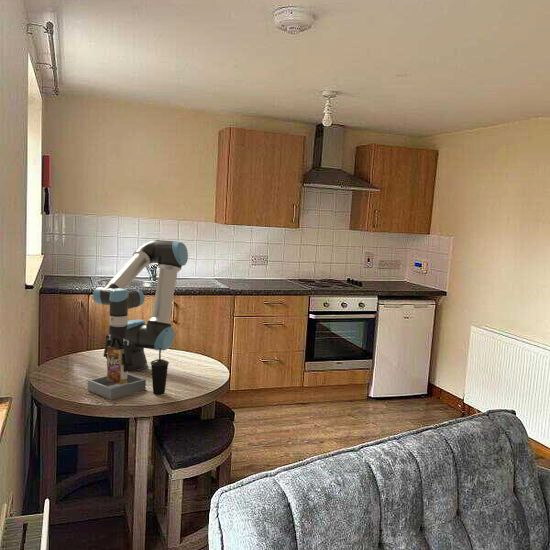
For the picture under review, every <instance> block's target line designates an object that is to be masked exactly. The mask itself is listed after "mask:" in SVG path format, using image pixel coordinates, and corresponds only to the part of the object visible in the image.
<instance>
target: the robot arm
mask: <svg viewBox="0 0 550 550" xmlns="http://www.w3.org/2000/svg"><path fill="white" fill-rule="evenodd" d="M188 258H189V252H188V249H187V246H186V244H184V243H183V242H182V241H177V240H162V239H153V240H150V241H147V242H146V243H144V244H142V245H140V246H139V247H138V248H137V249H136V250H135V251H134V252H133V253H132V257H131V258H130V259H129V260H128V261H127V262H126V264H125V265H124V266H123V267H122V268H121V269H120V270H119V271H118V272H117V273H116V274H115V275H114V276H113V277H112V278H111V279H110V281H108V283H107V284H106V285H105V286H104V287H103V286H101V287H99V286H98V287H96V288H95V289H94V291H93V293H92V298H93V301H94V302H95V304H99V305H104V306H105V305H106V306H109V314H108V315H109V318H108V319H109V322H108V323H109V326H108V334H107V335H106V336H105V344H104V352H103V357H104V358H106V360H107V347H108V346H111V347H113V346H116V347H117V348H118V349H124V353H123V354H122V363H123V364H121V379H122V380H123V379H126V378H127V373H128V372H129V371H130V372H133V371H141V370H144V369H145V368H147V367H148V359H147V357H146V354H145V349H149V350H155V351H159V348H161V351H167V350H168V349H169V348H170V347H171V346H172V345H173V342H174V340H175V329H174V328H173V327H172V322H171V321H170V316H171V312H172V311H171V310H172V307H173V306H172V305H173V301H174V300H173V299H174V295H175V288H176V284H177V278H178V273H179V272H180V271H181V270H182V267H183V266H185V265H187V263H188ZM151 264H157V267H158V268H159V274H158V279H157V285H156V290H155V295H154V301H153V302H154V303H153V308H152V310H151V311H152V312H151V313H152V314H151V317H150V318H148V320H147V322H145V320H144V319H129V318H128V317H129V316H128V312H129V310H130V309H134V308H138V307H141V306H142V305H143V304H144V303H145V294H144V293H143V292H142V291H141V290H139V289H132V290H128V289H127V288H128V286H129V285H130V284H131V283H132V282H133V281H134V280H135V278H137V276H138V275H139V274H140V273H141V272H142V271H143V269H144V268H147V267H149V266H150V265H151ZM128 319H129V320H128ZM140 369H141V370H140Z"/></svg>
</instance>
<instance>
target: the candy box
mask: <svg viewBox="0 0 550 550" xmlns="http://www.w3.org/2000/svg"><path fill="white" fill-rule="evenodd" d="M123 353H124V349H118V348H117V347H116V346H113V347H111V346H108V347H107V359H106V367H107V369H106V376H107V380H108V381H111V382H114V383H117V384H119V385H121V384H125V383H127V378H126V379H123V380H122V379H121V364H123V363H122V354H123Z"/></svg>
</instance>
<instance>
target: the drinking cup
mask: <svg viewBox="0 0 550 550" xmlns="http://www.w3.org/2000/svg"><path fill="white" fill-rule="evenodd" d="M158 351H159V352H158V358H157V359H154V360H152V361H150V365H151V366H150V367H151V368H150V369H151V382H152V394H153V395H156V396H162V394H163V395H164V394H165V392H166V384H167V377H168V366H169V364H170V362H169V361H168V360H166V359H161V358H162V357H161V356H162V355H161V354H162V350H161V348H159V350H158Z"/></svg>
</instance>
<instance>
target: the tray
mask: <svg viewBox="0 0 550 550" xmlns="http://www.w3.org/2000/svg"><path fill="white" fill-rule="evenodd" d="M146 382H147V379H145V378H142V377H140V376H136V375H133V374H131V373H128V372H127V383H125V384H121V385H119V384H117V383H114V382H111V381H108V380H107V375H103V376H99V377H96V378H91V379H88V380H87V391H88V392H90V391H91V393H93V394H95V393H96V395H98V394H99V395H98V396H100V395H101V397H103V398H105V399H108V400H111V401H112V400H115V399H116V400H117V399H119V398H122V397H126V396H129V395H131V394H132V395H133V394H135V392H136V393H138V391H139V392H142V391H145V390H147V389H146V386H147V384H146Z"/></svg>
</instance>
